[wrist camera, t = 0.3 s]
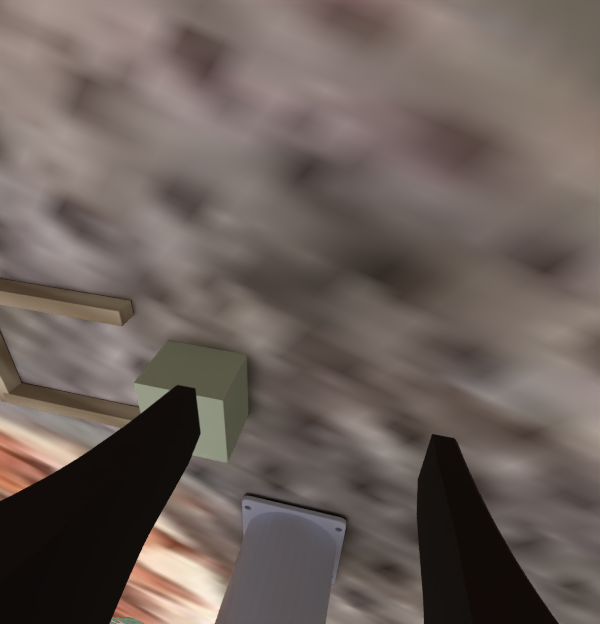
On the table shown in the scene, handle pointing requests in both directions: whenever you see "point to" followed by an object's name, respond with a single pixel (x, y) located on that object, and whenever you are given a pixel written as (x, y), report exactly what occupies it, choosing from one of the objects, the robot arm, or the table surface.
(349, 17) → the table surface
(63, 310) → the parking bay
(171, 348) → the sage block
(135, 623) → the dark fedora hat
